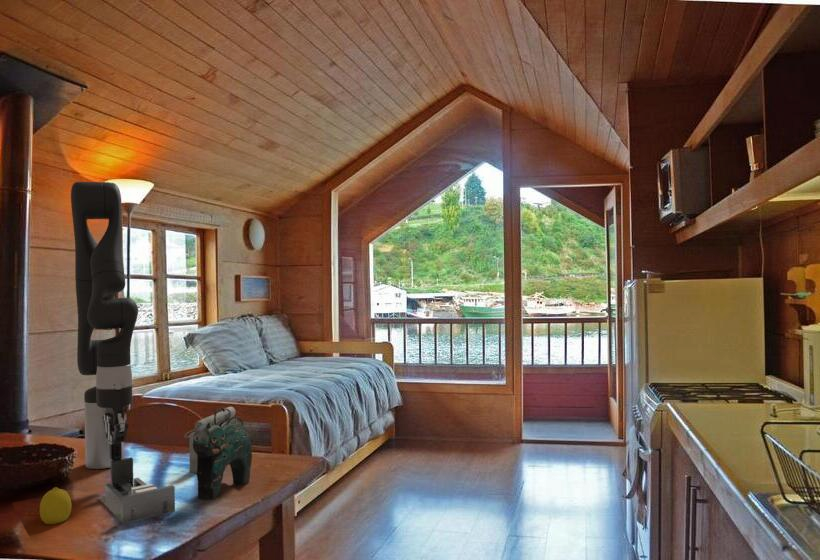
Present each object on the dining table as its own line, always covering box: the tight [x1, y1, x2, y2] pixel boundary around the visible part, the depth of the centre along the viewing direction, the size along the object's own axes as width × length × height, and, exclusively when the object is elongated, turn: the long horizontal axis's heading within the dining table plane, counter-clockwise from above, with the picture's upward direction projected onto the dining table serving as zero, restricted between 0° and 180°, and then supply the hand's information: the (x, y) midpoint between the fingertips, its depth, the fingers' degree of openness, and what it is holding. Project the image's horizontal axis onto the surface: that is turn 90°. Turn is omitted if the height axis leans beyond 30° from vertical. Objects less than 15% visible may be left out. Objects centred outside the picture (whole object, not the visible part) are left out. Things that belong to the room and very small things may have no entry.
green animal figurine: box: [193, 406, 253, 501], centre depth 145 cm, size 20×6×20 cm, turn 166°
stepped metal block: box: [110, 457, 134, 496], centre depth 139 cm, size 9×4×7 cm, turn 39°
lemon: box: [39, 486, 73, 525], centre depth 126 cm, size 6×6×8 cm
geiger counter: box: [183, 406, 238, 473], centre depth 168 cm, size 14×6×25 cm
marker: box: [131, 483, 158, 494], centre depth 129 cm, size 4×4×5 cm
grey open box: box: [97, 477, 176, 525], centre depth 134 cm, size 20×10×6 cm, turn 39°
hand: (115, 459), depth 147 cm, fingers closed
